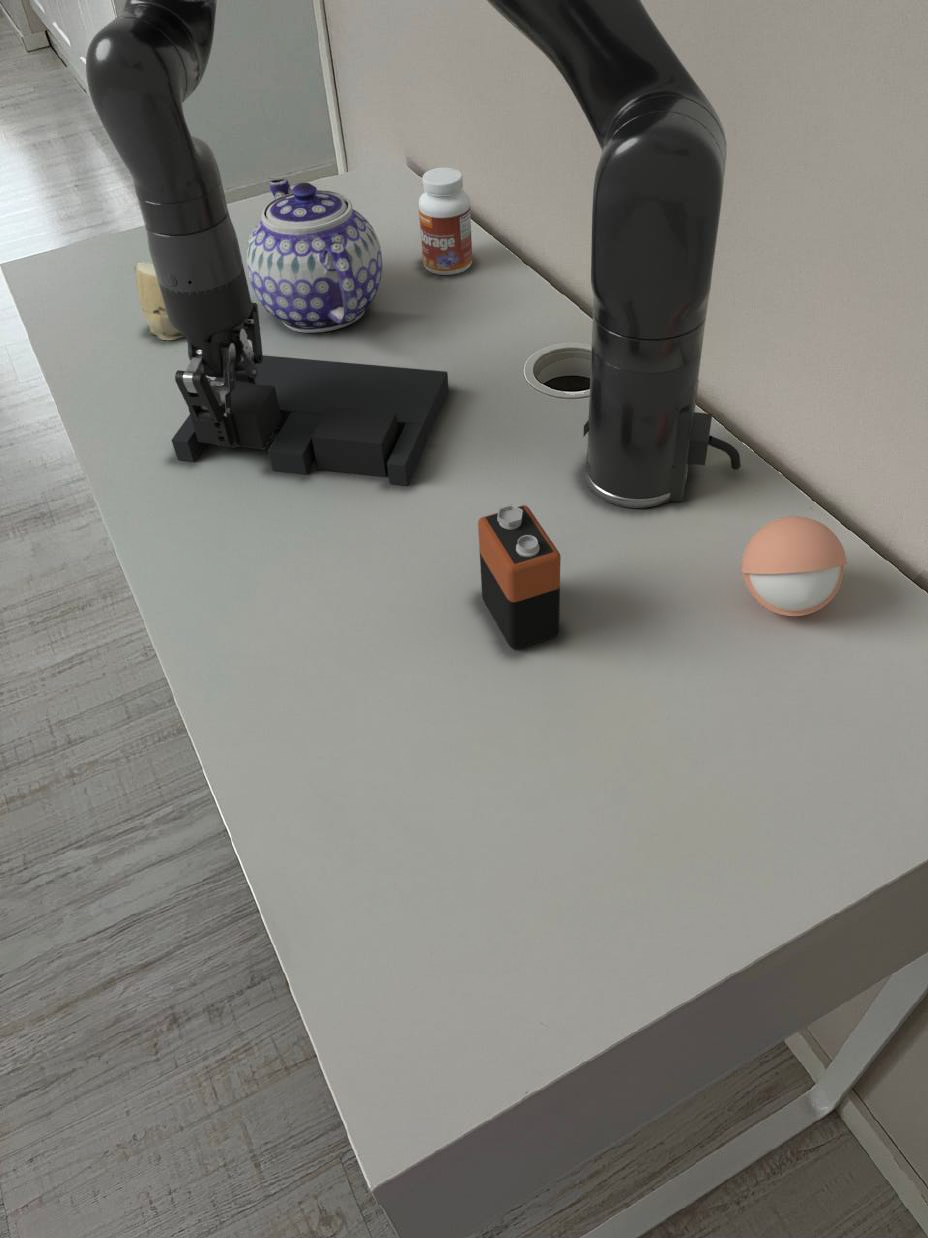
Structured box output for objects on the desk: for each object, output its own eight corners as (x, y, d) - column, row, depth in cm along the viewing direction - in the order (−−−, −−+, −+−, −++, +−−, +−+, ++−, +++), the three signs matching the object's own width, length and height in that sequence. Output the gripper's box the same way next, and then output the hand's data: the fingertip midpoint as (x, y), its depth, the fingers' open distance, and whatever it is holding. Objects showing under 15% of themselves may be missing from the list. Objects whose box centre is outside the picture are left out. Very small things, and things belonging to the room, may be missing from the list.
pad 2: (400, 446, 102) (396, 412, 99) (386, 477, 99) (381, 443, 96) (334, 439, 103) (328, 406, 100) (317, 469, 100) (311, 436, 97)
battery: (527, 583, 87) (526, 492, 80) (561, 637, 83) (563, 545, 76) (480, 598, 86) (474, 507, 79) (511, 653, 82) (509, 562, 75)
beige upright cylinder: (194, 315, 122) (177, 251, 116) (203, 335, 119) (186, 271, 113) (146, 326, 121) (127, 262, 115) (154, 347, 117) (134, 283, 112)
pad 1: (282, 419, 103) (274, 385, 100) (264, 449, 100) (255, 415, 97) (218, 413, 104) (209, 379, 101) (198, 442, 101) (188, 408, 98)
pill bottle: (414, 271, 127) (405, 181, 119) (438, 249, 130) (431, 161, 122) (458, 280, 124) (453, 190, 116) (481, 257, 128) (477, 168, 120)
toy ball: (748, 639, 82) (764, 566, 76) (724, 572, 87) (737, 500, 81) (848, 630, 82) (871, 557, 76) (818, 564, 87) (837, 491, 81)
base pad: (449, 391, 108) (447, 371, 106) (407, 486, 97) (405, 465, 96) (238, 372, 113) (233, 352, 111) (177, 460, 102) (170, 439, 100)
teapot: (419, 346, 115) (406, 215, 104) (287, 380, 111) (259, 249, 100) (353, 251, 131) (336, 130, 120) (236, 278, 128) (208, 156, 117)
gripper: (205, 312, 84) (248, 476, 96) (269, 232, 93) (300, 390, 106) (122, 305, 85) (175, 468, 98) (193, 227, 95) (233, 384, 107)
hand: (240, 427), depth 102 cm, fingers closed on pad 1, 5 cm apart
